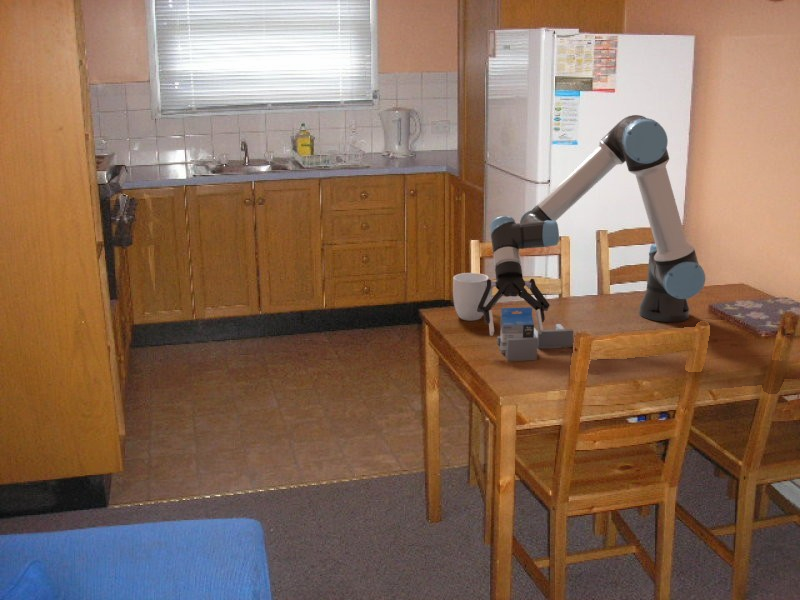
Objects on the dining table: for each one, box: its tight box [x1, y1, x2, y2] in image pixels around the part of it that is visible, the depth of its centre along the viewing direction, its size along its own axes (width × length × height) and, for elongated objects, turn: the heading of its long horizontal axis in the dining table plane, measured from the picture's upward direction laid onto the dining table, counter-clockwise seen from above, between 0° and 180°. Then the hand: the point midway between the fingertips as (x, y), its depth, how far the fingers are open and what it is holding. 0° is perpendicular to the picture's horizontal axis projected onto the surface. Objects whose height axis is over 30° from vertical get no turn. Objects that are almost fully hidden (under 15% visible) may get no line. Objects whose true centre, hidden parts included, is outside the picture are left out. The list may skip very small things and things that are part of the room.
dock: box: [534, 323, 574, 350], centre depth 261 cm, size 10×14×5 cm
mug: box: [452, 272, 493, 322], centre depth 282 cm, size 15×11×13 cm
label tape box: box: [499, 307, 535, 354], centre depth 251 cm, size 9×4×12 cm, turn 92°
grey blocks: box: [496, 335, 538, 362], centre depth 252 cm, size 8×15×6 cm, turn 5°
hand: (516, 333), depth 250 cm, fingers open, 13 cm apart
